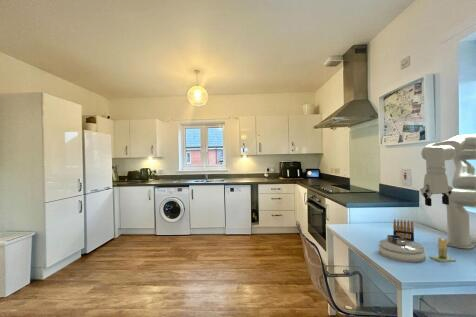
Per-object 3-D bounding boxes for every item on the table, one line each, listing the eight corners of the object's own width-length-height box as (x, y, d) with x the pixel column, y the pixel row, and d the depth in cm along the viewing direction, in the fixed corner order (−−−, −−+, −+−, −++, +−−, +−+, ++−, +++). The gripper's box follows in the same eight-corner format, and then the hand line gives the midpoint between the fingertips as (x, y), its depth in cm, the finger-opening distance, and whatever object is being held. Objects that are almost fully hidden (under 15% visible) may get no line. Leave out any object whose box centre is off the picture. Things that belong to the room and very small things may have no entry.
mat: (444, 256, 129) (444, 255, 129) (455, 261, 123) (455, 259, 123) (429, 257, 128) (429, 255, 128) (440, 262, 122) (440, 260, 122)
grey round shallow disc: (374, 241, 143) (374, 234, 143) (411, 242, 140) (411, 235, 140) (388, 253, 124) (388, 245, 124) (432, 255, 121) (432, 246, 121)
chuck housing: (405, 247, 143) (405, 241, 143) (436, 261, 123) (436, 254, 123) (370, 249, 141) (370, 242, 141) (396, 263, 121) (396, 256, 121)
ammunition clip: (393, 238, 160) (392, 219, 160) (393, 237, 162) (392, 218, 162) (414, 241, 154) (413, 221, 154) (414, 240, 156) (413, 220, 156)
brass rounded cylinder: (436, 257, 127) (436, 238, 127) (442, 256, 127) (442, 237, 127) (443, 259, 123) (443, 240, 123) (448, 258, 124) (448, 239, 124)
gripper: (444, 169, 136) (445, 202, 137) (414, 171, 134) (415, 204, 134) (458, 170, 129) (459, 205, 129) (426, 172, 127) (427, 207, 127)
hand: (437, 204), depth 132 cm, fingers open, 9 cm apart
